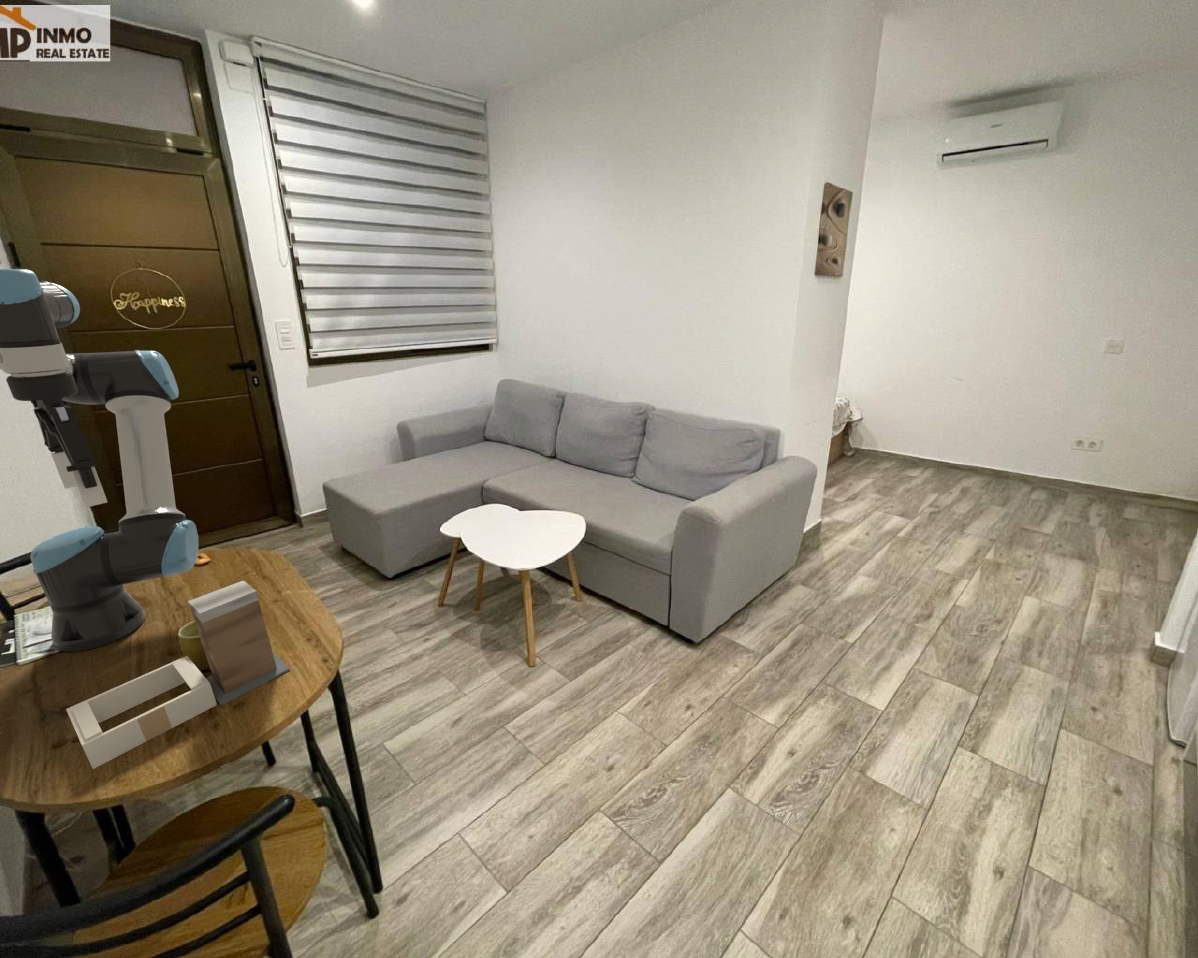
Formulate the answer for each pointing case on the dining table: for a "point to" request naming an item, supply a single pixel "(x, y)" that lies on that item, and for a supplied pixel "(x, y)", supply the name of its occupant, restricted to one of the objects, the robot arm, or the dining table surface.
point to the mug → (193, 646)
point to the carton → (146, 724)
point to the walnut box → (233, 635)
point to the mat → (228, 697)
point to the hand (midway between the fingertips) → (85, 495)
